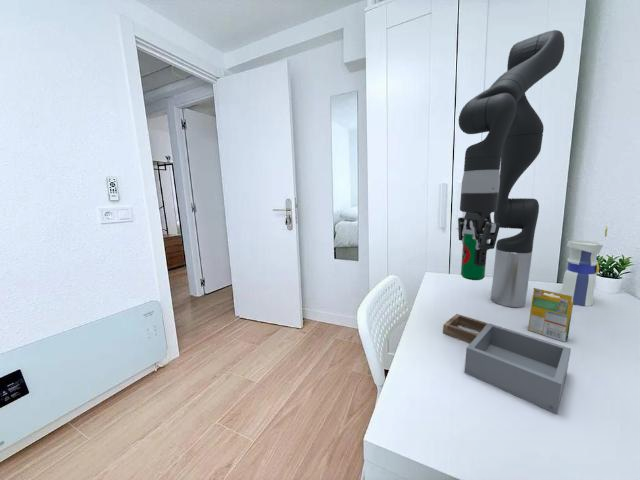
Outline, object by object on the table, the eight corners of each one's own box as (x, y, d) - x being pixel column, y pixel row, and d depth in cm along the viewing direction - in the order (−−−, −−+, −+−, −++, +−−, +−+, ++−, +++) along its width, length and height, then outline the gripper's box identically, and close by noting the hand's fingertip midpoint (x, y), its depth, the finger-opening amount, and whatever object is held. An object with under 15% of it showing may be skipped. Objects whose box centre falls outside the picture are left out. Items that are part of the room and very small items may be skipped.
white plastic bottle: (589, 298, 87) (602, 223, 82) (598, 308, 80) (613, 226, 75) (556, 294, 91) (567, 222, 87) (561, 303, 84) (574, 225, 79)
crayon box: (568, 338, 64) (575, 293, 62) (565, 342, 63) (572, 296, 61) (531, 326, 70) (536, 285, 68) (527, 330, 68) (533, 287, 66)
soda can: (477, 282, 61) (481, 231, 59) (456, 277, 65) (459, 229, 63) (488, 278, 64) (492, 229, 62) (467, 273, 68) (470, 227, 66)
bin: (486, 344, 62) (488, 323, 61) (566, 373, 52) (570, 348, 51) (464, 372, 53) (466, 347, 52) (556, 414, 43) (561, 384, 42)
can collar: (455, 322, 73) (456, 313, 73) (491, 333, 67) (492, 324, 67) (442, 333, 68) (443, 324, 67) (479, 347, 61) (480, 337, 61)
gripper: (517, 190, 54) (508, 271, 57) (479, 190, 68) (473, 254, 71) (479, 191, 54) (472, 271, 57) (449, 191, 68) (445, 255, 71)
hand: (473, 261), depth 64 cm, fingers closed on soda can, 5 cm apart
